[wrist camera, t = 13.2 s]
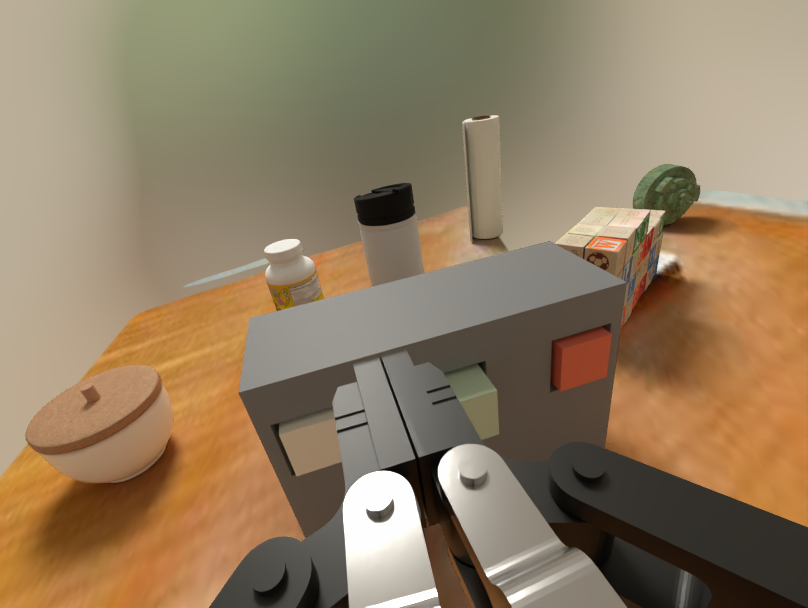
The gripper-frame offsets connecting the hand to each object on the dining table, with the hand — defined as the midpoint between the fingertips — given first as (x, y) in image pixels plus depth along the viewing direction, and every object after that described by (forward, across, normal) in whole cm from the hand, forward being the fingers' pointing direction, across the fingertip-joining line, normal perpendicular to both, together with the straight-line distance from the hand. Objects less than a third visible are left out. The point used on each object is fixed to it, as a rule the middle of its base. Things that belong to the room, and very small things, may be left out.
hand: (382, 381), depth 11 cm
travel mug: (+32, -7, +23) cm, 40 cm away
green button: (+9, -5, +13) cm, 16 cm away
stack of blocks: (+29, -34, +22) cm, 50 cm away
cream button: (+10, +4, +13) cm, 17 cm away
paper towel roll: (+61, -31, +23) cm, 72 cm away
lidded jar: (+26, +24, +23) cm, 42 cm away
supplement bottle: (+43, +5, +23) cm, 49 cm away
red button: (+11, -14, +13) cm, 22 cm away
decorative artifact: (+45, -58, +22) cm, 77 cm away
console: (+14, -6, +22) cm, 27 cm away
